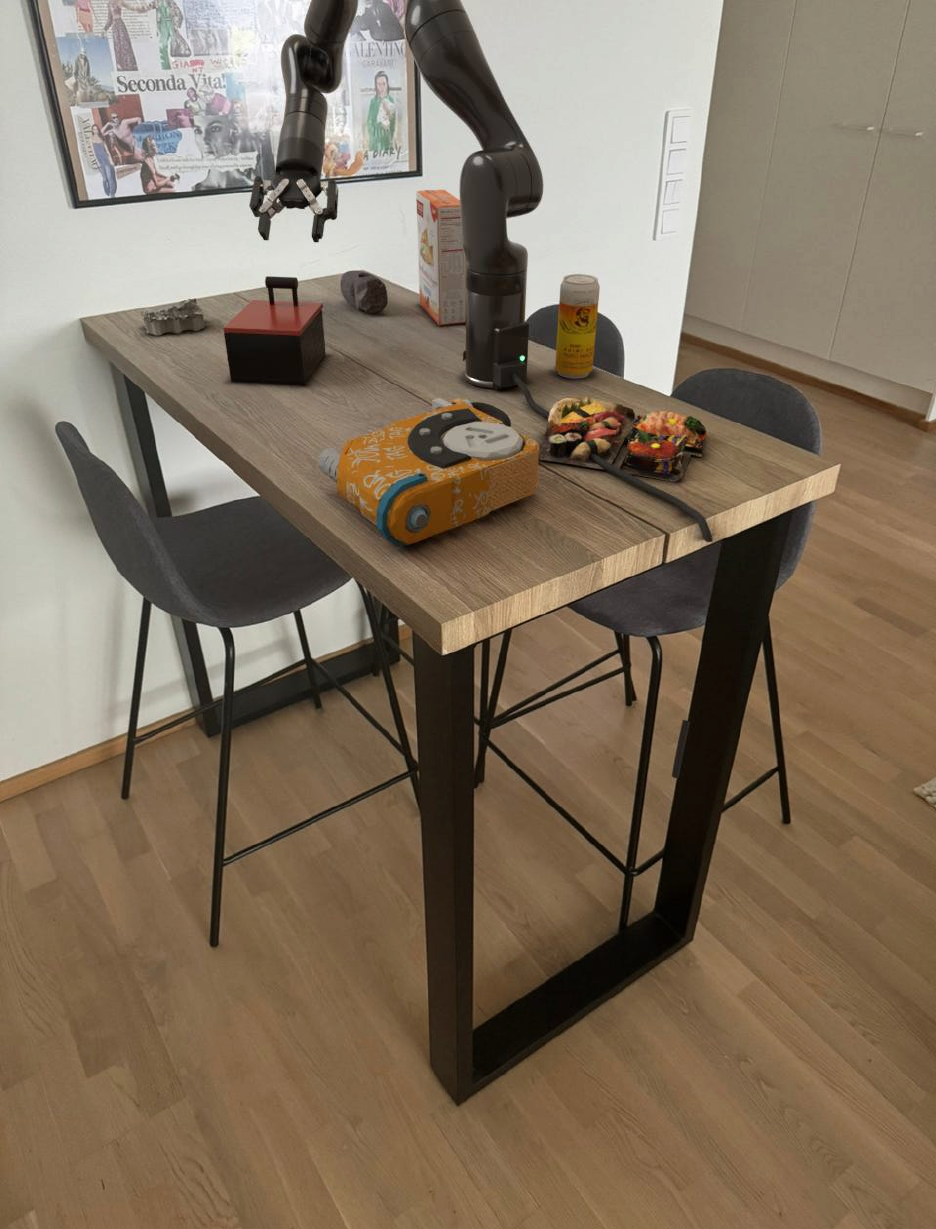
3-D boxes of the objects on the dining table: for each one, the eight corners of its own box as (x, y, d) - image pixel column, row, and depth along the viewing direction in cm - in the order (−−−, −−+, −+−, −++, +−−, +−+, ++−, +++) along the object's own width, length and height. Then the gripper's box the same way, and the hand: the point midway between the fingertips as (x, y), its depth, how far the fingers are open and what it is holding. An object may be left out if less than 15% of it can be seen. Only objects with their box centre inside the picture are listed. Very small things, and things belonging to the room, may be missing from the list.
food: (526, 459, 120) (527, 434, 118) (562, 408, 134) (564, 385, 132) (691, 485, 114) (696, 460, 112) (710, 430, 128) (714, 406, 126)
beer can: (562, 381, 144) (569, 285, 135) (549, 368, 148) (555, 274, 140) (597, 377, 145) (606, 282, 136) (583, 365, 150) (591, 272, 141)
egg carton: (202, 319, 168) (198, 297, 166) (207, 331, 162) (204, 308, 160) (143, 325, 165) (138, 302, 163) (146, 337, 159) (141, 314, 157)
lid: (252, 304, 150) (248, 272, 147) (323, 307, 149) (320, 275, 146) (223, 332, 138) (218, 298, 134) (299, 336, 136) (296, 301, 133)
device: (283, 427, 108) (475, 372, 123) (290, 489, 112) (474, 429, 128) (390, 497, 93) (592, 425, 109) (394, 564, 98) (587, 486, 114)
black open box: (257, 352, 153) (251, 306, 149) (325, 355, 152) (322, 309, 148) (230, 382, 142) (223, 333, 138) (304, 385, 141) (299, 336, 137)
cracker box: (417, 305, 176) (414, 190, 164) (446, 303, 178) (446, 188, 166) (436, 327, 166) (435, 205, 153) (468, 324, 167) (468, 203, 155)
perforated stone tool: (333, 300, 179) (330, 263, 175) (357, 296, 181) (354, 260, 177) (366, 320, 168) (363, 282, 164) (390, 316, 171) (389, 278, 167)
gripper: (252, 134, 147) (240, 223, 144) (337, 136, 146) (326, 226, 143) (266, 164, 154) (254, 250, 152) (347, 166, 153) (337, 253, 150)
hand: (289, 238), depth 147 cm, fingers open, 8 cm apart
